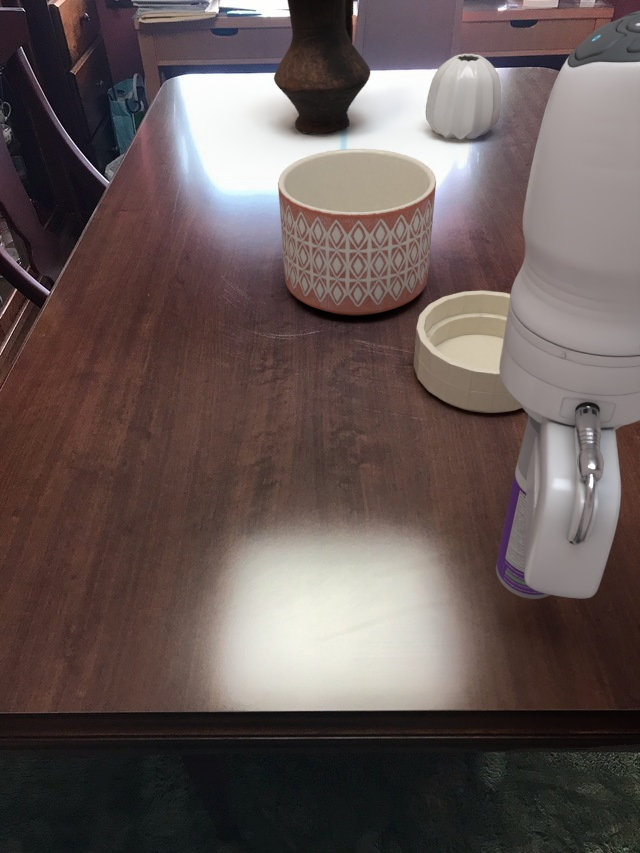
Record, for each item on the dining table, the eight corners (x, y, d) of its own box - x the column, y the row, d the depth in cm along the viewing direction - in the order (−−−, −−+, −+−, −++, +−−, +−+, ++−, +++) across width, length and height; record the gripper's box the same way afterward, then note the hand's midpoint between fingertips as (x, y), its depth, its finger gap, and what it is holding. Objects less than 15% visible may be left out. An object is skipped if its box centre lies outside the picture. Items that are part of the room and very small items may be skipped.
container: (511, 537, 53) (544, 386, 43) (571, 564, 51) (620, 412, 41) (484, 579, 50) (513, 428, 40) (546, 610, 48) (593, 459, 38)
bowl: (552, 340, 83) (562, 298, 79) (553, 426, 72) (565, 381, 68) (422, 326, 86) (426, 284, 82) (404, 406, 75) (407, 362, 71)
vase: (419, 142, 131) (424, 66, 122) (432, 118, 140) (437, 45, 131) (492, 149, 127) (503, 70, 118) (500, 123, 137) (511, 48, 128)
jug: (346, 150, 129) (346, -41, 109) (260, 137, 135) (245, -46, 115) (387, 114, 143) (394, -62, 123) (307, 103, 149) (301, -65, 129)
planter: (256, 294, 93) (245, 187, 83) (340, 238, 104) (339, 138, 94) (375, 342, 84) (378, 229, 74) (452, 275, 95) (465, 169, 85)
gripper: (673, 502, 29) (600, 666, 39) (631, 264, 44) (585, 425, 53) (520, 481, 31) (485, 645, 40) (529, 257, 45) (501, 415, 54)
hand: (542, 517), depth 47 cm, fingers closed on container, 4 cm apart
